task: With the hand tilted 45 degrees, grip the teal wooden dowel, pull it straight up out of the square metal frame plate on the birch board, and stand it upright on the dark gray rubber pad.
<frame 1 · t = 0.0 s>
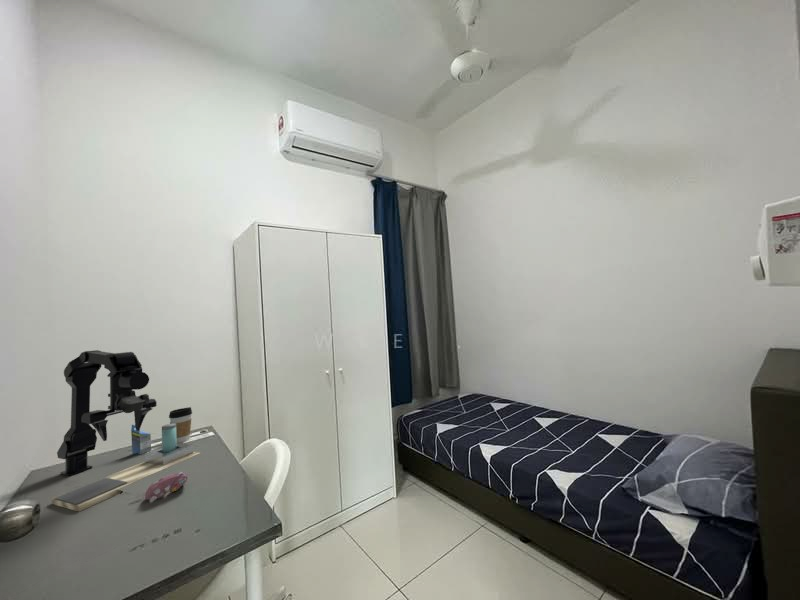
hand: (122, 435, 104), 15 cm above the table, tool pointing down, fingers open, 9 cm apart
dark gray rubber pad: (91, 490, 94), resting on birch board
label tape box: (141, 455, 125), on the table
square metal frame plate: (169, 453, 116), on the birch board, point 3 cm above the table
video game controller: (167, 494, 91), on the table
teal dowel: (169, 441, 116), in the square metal frame plate, point 8 cm above the table, touching birch board
coffee cup: (181, 444, 134), on the table
birch board: (135, 477, 104), on the table
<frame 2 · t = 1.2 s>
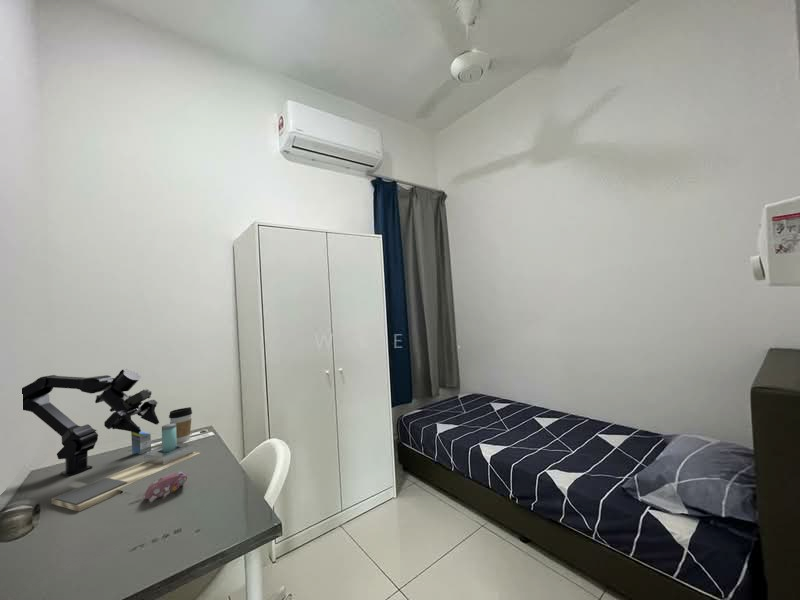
hand: (149, 427, 116), 13 cm above the table, tool tilted 45°, fingers open, 9 cm apart
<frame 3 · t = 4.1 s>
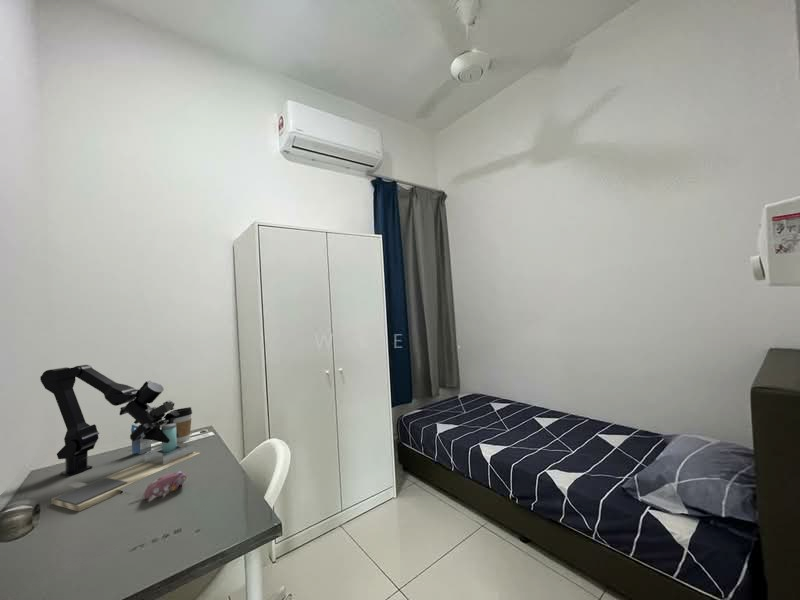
hand: (173, 439, 116), 8 cm above the table, tool tilted 45°, fingers closed on teal dowel, 4 cm apart
teal dowel: (169, 441, 116), in the square metal frame plate, point 8 cm above the table, touching birch board, gripper
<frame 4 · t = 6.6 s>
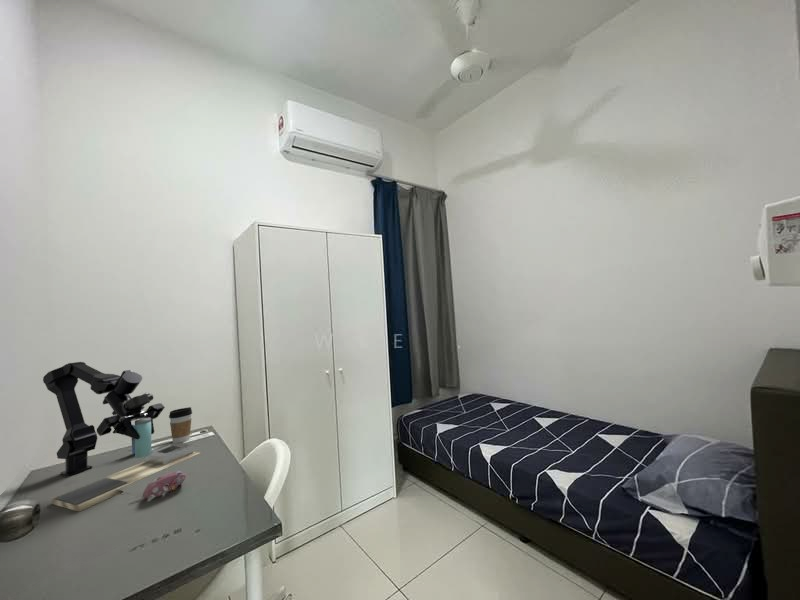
hand: (146, 435, 106), 13 cm above the table, tool tilted 45°, fingers closed on teal dowel, 4 cm apart
teal dowel: (143, 437, 106), point 13 cm above the table, touching gripper
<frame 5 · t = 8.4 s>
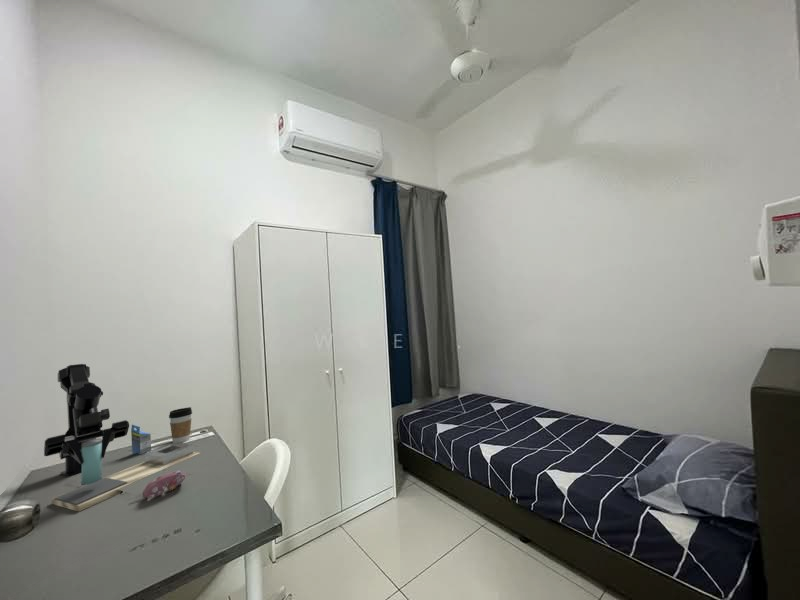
hand: (92, 460, 94), 11 cm above the table, tool tilted 45°, fingers closed on teal dowel, 4 cm apart
teal dowel: (91, 461, 94), point 10 cm above the table, touching gripper
when the fingers open (9 cm above the table, at t = 9.5 s): teal dowel stays where it is, resting on dark gray rubber pad.
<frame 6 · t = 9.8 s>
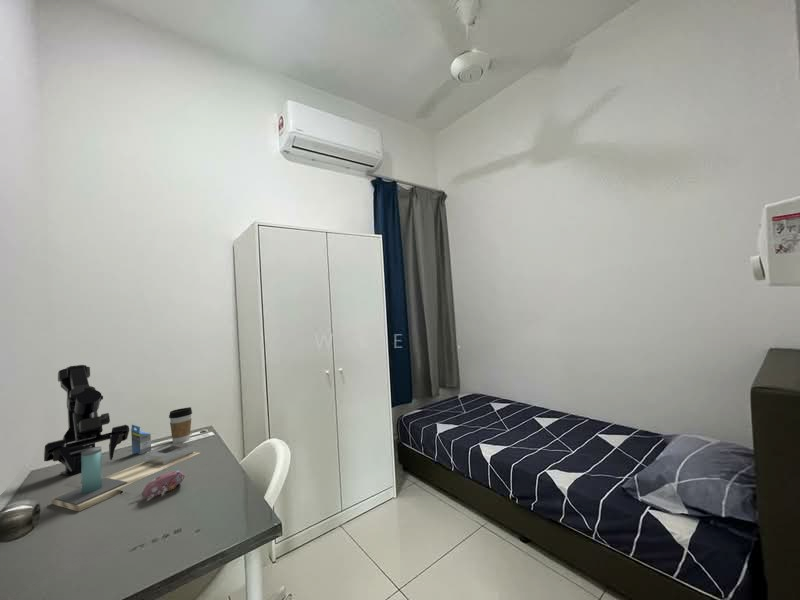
hand: (92, 464, 93), 10 cm above the table, tool tilted 45°, fingers open, 8 cm apart
teal dowel: (91, 469, 94), on the dark gray rubber pad, point 8 cm above the table
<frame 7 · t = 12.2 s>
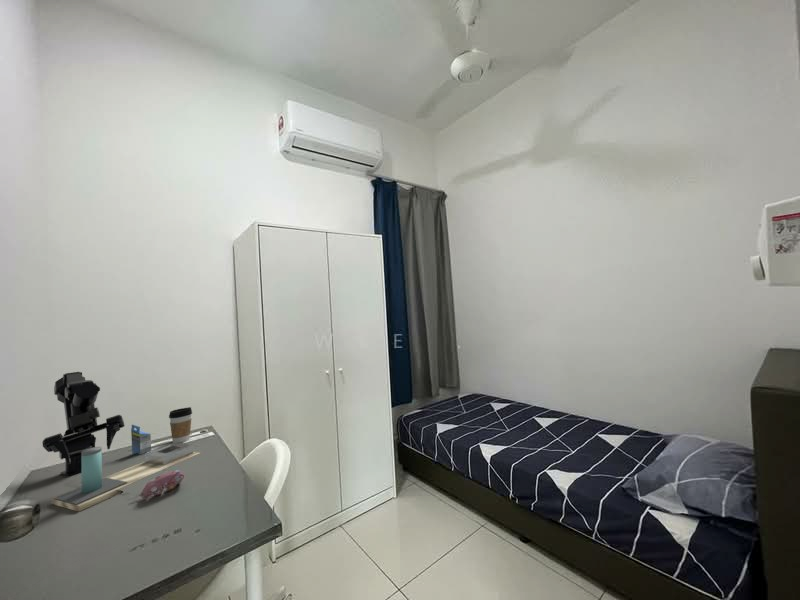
hand: (89, 455, 100), 10 cm above the table, tool tilted 35°, fingers open, 9 cm apart
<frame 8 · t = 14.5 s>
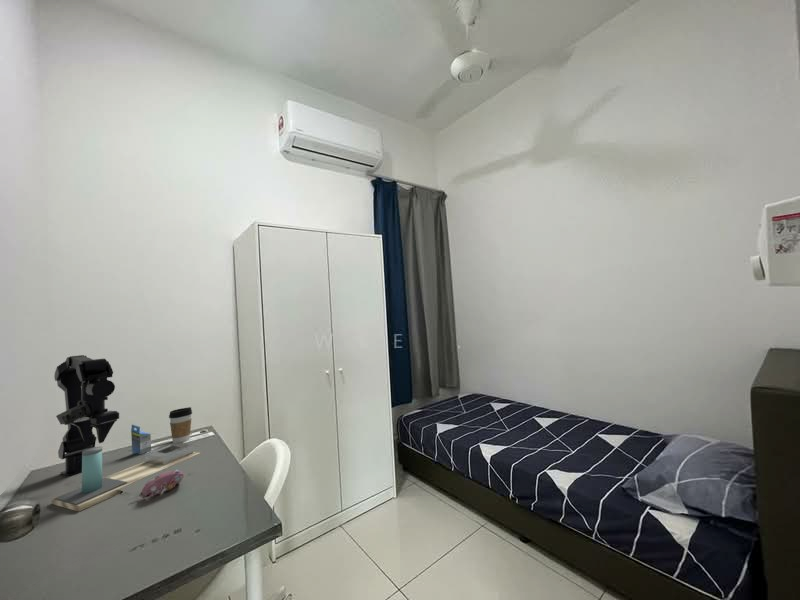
hand: (93, 441, 105), 13 cm above the table, tool pointing down, fingers open, 9 cm apart
at the end: teal dowel inside the target area on the dark gray rubber pad (0.0 cm from its centre), point 6.4 cm above the dark gray rubber pad's base; teal dowel tilted 1°; the gripper is holding nothing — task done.
